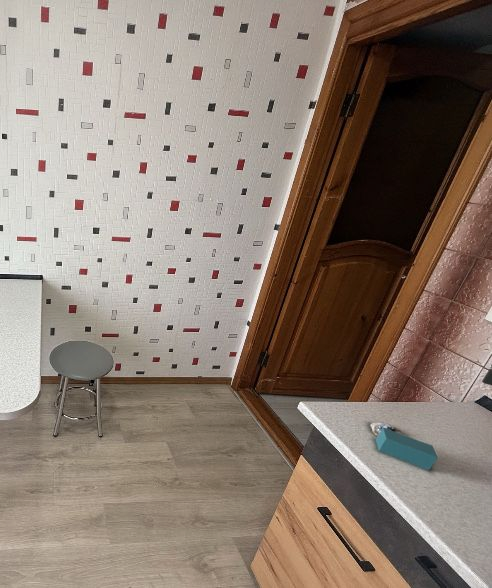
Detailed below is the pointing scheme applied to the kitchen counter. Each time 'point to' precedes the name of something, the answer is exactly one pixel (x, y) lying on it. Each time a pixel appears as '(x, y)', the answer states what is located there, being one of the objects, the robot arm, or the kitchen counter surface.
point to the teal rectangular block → (406, 448)
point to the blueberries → (378, 427)
